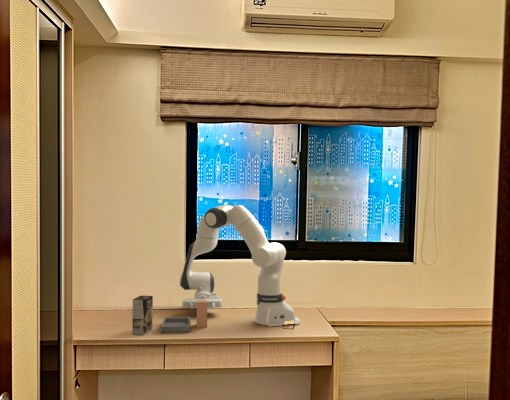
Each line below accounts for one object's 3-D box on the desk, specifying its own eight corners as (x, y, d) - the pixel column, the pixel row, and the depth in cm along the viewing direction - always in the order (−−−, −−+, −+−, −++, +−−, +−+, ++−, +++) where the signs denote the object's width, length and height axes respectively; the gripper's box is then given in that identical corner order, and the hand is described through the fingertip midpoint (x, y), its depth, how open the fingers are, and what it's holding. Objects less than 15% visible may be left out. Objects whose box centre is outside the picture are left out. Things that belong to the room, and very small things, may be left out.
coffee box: (145, 335, 234) (145, 299, 234) (131, 334, 235) (131, 299, 235) (153, 329, 243) (153, 295, 242) (140, 328, 244) (140, 294, 244)
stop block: (207, 324, 254) (207, 299, 253) (207, 327, 249) (207, 302, 248) (196, 324, 253) (196, 300, 253) (196, 327, 248) (196, 302, 248)
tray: (190, 323, 255) (190, 317, 255) (189, 332, 239) (189, 326, 239) (163, 323, 254) (163, 317, 254) (161, 333, 238) (161, 326, 238)
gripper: (182, 294, 274) (181, 300, 260) (221, 294, 276) (222, 300, 262) (182, 306, 274) (181, 313, 261) (221, 306, 276) (222, 312, 263)
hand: (202, 306), depth 261 cm, fingers open, 8 cm apart
